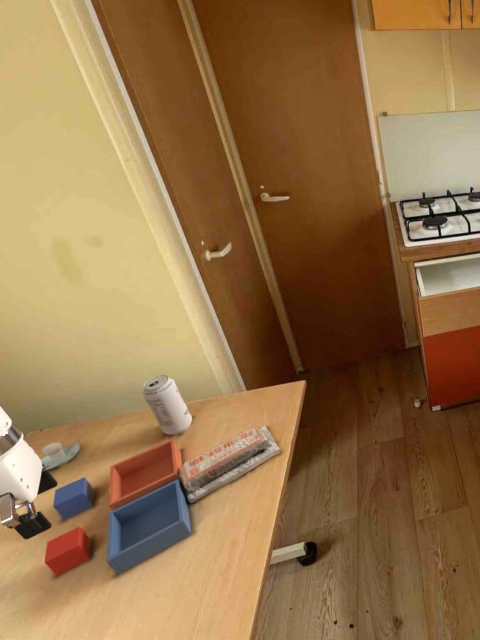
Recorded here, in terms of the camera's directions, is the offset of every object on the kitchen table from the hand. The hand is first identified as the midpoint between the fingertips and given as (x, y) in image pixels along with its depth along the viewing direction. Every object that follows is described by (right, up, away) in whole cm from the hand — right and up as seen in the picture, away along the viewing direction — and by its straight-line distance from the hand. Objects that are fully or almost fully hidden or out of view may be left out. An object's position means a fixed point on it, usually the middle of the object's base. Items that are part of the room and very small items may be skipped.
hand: (43, 510), depth 74 cm
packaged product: (+18, -3, +23) cm, 29 cm away
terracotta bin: (+3, -5, +19) cm, 20 cm away
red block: (0, -12, +6) cm, 13 cm away
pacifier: (-22, -3, +24) cm, 33 cm away
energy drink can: (-2, +1, +32) cm, 32 cm away
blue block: (-9, -8, +15) cm, 18 cm away
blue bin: (+11, -10, +10) cm, 18 cm away
